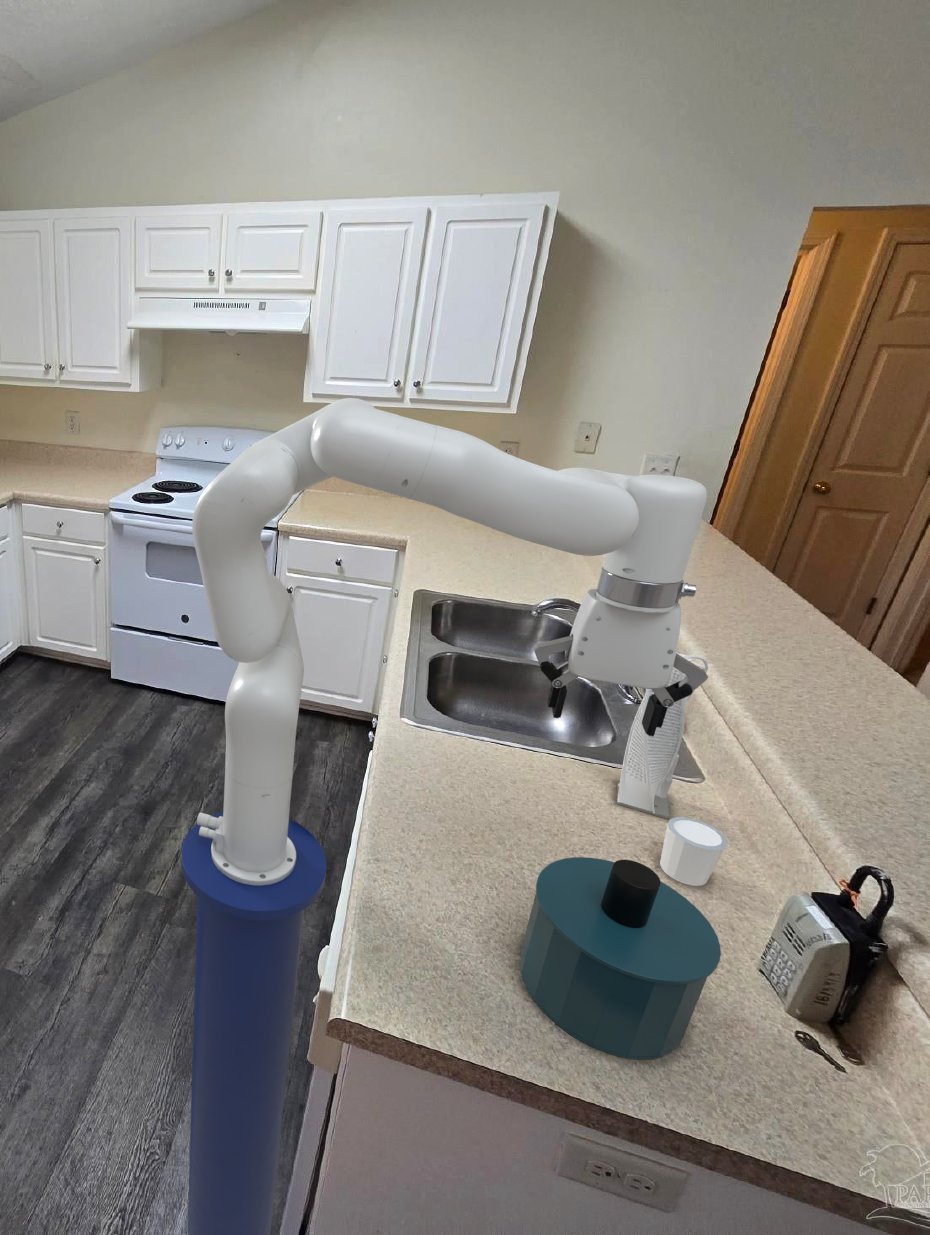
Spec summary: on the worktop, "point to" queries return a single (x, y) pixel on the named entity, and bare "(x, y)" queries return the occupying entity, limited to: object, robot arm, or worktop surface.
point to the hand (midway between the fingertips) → (600, 721)
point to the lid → (628, 919)
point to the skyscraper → (653, 755)
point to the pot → (602, 997)
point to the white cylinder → (691, 850)
